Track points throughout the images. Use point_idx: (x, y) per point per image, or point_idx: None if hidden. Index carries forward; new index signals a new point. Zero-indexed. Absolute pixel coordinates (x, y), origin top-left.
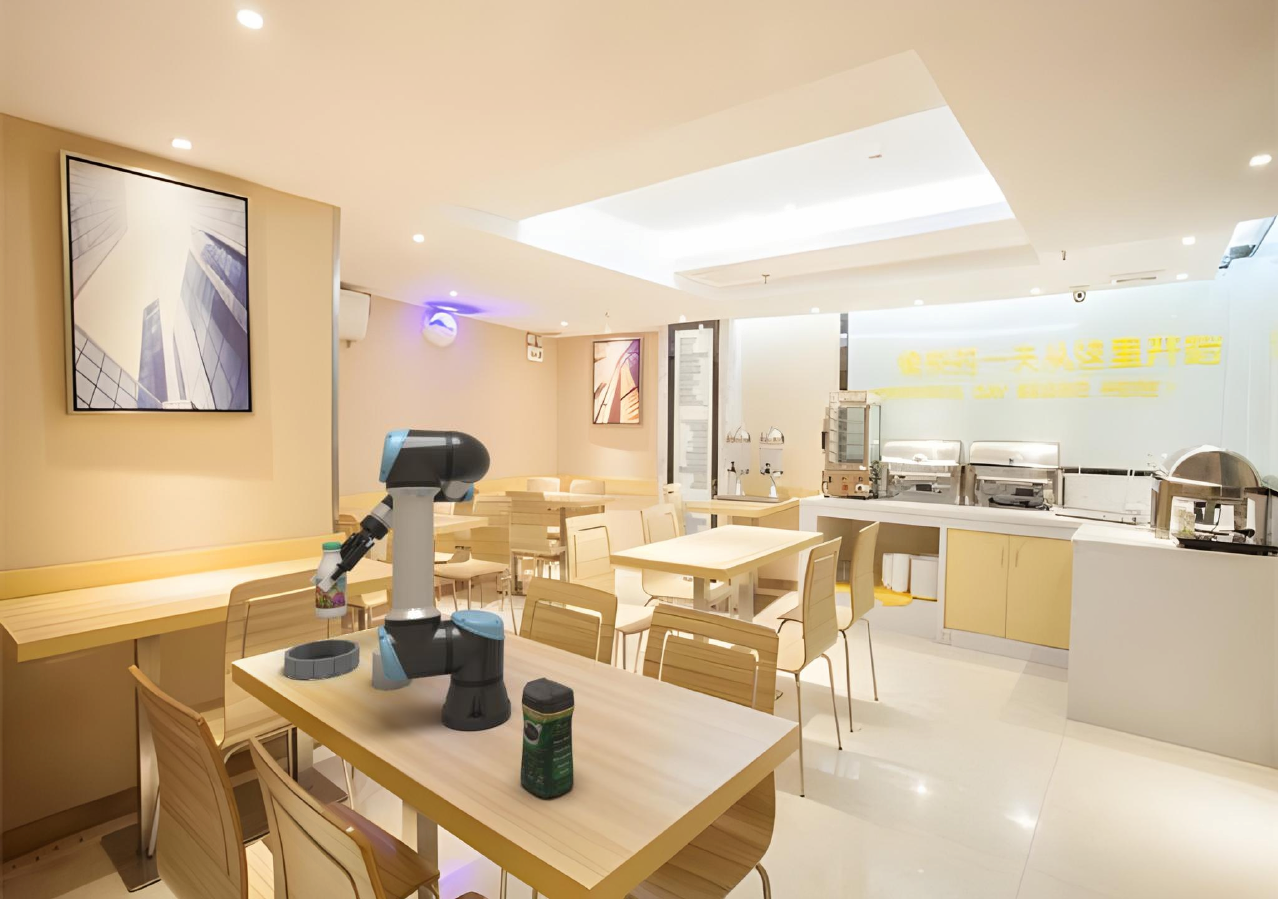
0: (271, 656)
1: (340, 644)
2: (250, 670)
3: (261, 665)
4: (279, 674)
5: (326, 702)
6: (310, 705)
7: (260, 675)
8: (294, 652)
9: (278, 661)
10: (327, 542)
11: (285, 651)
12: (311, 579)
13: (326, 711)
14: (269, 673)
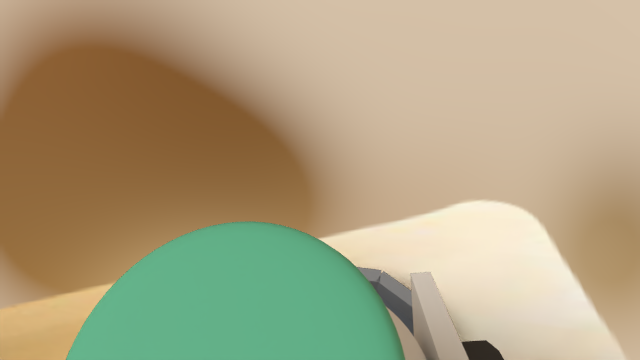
0: (545, 272)
1: None
2: (430, 214)
3: (462, 240)
4: None
5: (74, 340)
6: (87, 304)
7: (374, 231)
8: (404, 305)
9: (481, 284)
10: (327, 315)
11: (384, 272)
12: (413, 279)
13: (25, 329)
14: (378, 251)
